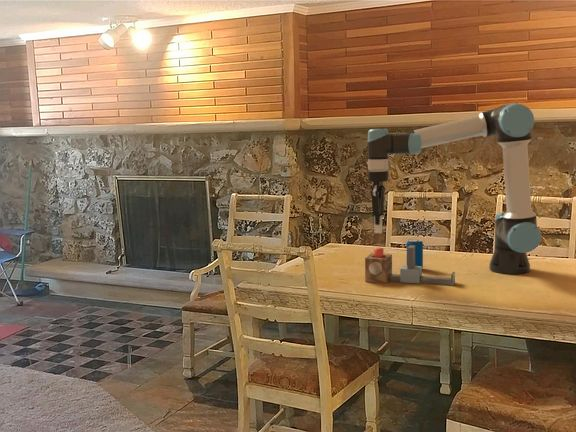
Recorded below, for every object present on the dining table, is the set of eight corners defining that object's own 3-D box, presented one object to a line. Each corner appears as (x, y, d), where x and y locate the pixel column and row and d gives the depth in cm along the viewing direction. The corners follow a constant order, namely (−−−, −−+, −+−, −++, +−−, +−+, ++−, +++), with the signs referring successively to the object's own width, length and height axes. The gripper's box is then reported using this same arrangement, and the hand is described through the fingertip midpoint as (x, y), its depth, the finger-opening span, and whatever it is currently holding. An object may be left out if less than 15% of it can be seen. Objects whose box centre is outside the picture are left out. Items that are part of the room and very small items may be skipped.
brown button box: (392, 276, 239) (391, 254, 237) (386, 283, 229) (385, 259, 228) (371, 275, 242) (371, 253, 240) (365, 281, 232) (364, 258, 231)
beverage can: (422, 271, 246) (423, 241, 245) (406, 270, 248) (406, 241, 246) (422, 267, 253) (422, 238, 251) (406, 267, 254) (406, 238, 252)
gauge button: (384, 262, 236) (384, 247, 235) (382, 264, 232) (382, 249, 231) (375, 261, 237) (375, 247, 236) (373, 263, 234) (372, 249, 233)
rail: (454, 282, 227) (455, 272, 227) (453, 285, 223) (453, 275, 222) (390, 278, 236) (390, 268, 236) (387, 281, 232) (387, 271, 231)
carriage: (422, 279, 232) (422, 245, 230) (419, 283, 227) (419, 248, 225) (403, 278, 235) (403, 244, 233) (400, 282, 229) (400, 247, 227)
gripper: (372, 169, 237) (372, 229, 240) (363, 171, 225) (364, 235, 228) (391, 169, 234) (391, 230, 237) (383, 171, 222) (384, 236, 225)
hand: (378, 232), depth 233 cm, fingers closed
